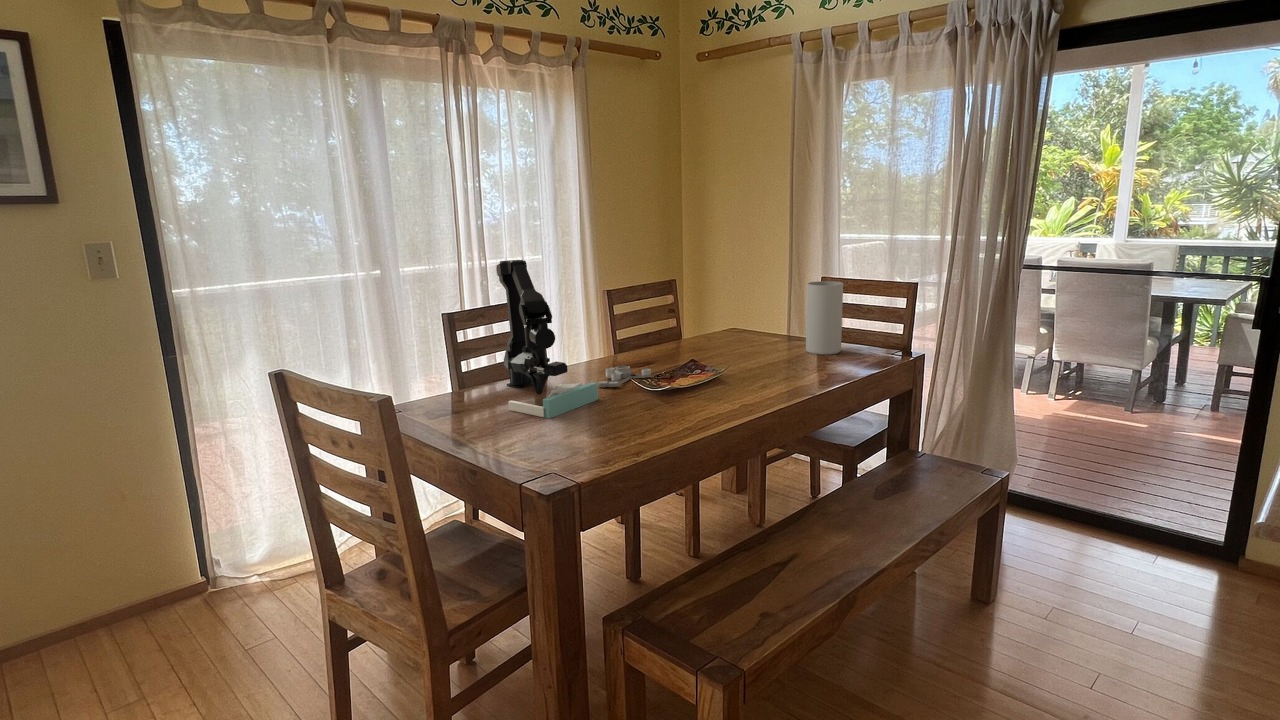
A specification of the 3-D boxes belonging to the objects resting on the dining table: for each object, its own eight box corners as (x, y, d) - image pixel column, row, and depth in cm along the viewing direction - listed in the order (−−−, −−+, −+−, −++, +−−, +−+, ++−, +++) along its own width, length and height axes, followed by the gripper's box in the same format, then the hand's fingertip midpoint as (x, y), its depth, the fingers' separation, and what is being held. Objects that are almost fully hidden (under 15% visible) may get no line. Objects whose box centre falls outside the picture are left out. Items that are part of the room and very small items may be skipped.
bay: (508, 409, 200) (507, 392, 199) (558, 392, 216) (557, 376, 215) (549, 418, 191) (548, 400, 190) (598, 399, 207) (597, 383, 206)
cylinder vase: (806, 355, 254) (808, 285, 249) (804, 347, 266) (806, 281, 261) (842, 355, 252) (845, 285, 247) (839, 347, 264) (841, 281, 259)
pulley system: (582, 384, 228) (605, 391, 216) (581, 370, 228) (604, 376, 215) (652, 374, 243) (678, 380, 230) (652, 360, 242) (678, 365, 230)
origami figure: (566, 396, 212) (565, 380, 211) (588, 399, 208) (587, 383, 207) (539, 406, 203) (538, 389, 202) (562, 410, 198) (561, 393, 197)
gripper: (492, 344, 202) (496, 396, 205) (540, 351, 191) (543, 406, 195) (519, 336, 211) (523, 387, 214) (567, 343, 200) (570, 396, 204)
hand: (538, 394), depth 207 cm, fingers closed
